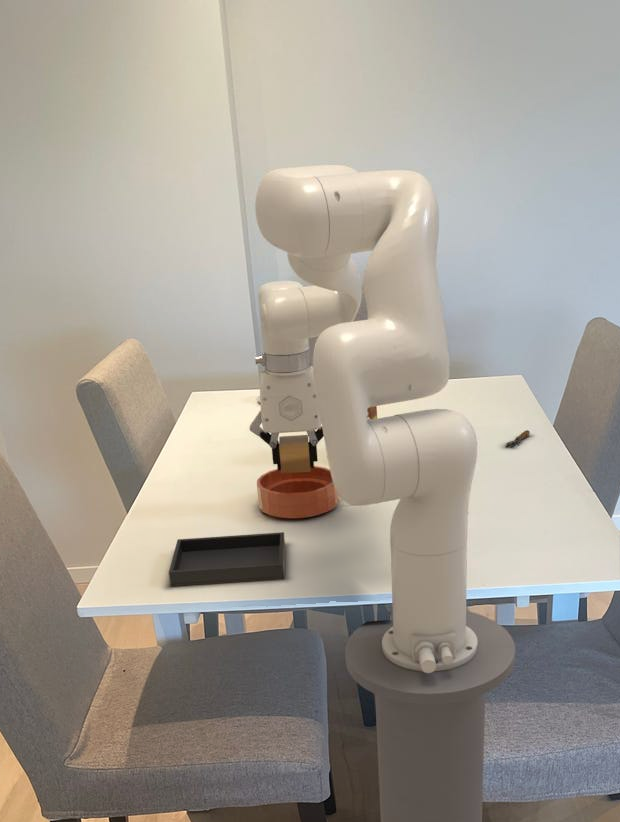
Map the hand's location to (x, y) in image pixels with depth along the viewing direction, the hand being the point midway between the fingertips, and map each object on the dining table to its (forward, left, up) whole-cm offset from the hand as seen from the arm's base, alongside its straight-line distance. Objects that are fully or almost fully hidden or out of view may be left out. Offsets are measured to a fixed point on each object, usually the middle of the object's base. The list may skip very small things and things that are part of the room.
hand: (295, 465), depth 162 cm
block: (0, 0, 0) cm, 0 cm away
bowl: (0, 0, -8) cm, 8 cm away
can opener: (+27, -45, -8) cm, 53 cm away
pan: (-23, +11, -8) cm, 27 cm away
